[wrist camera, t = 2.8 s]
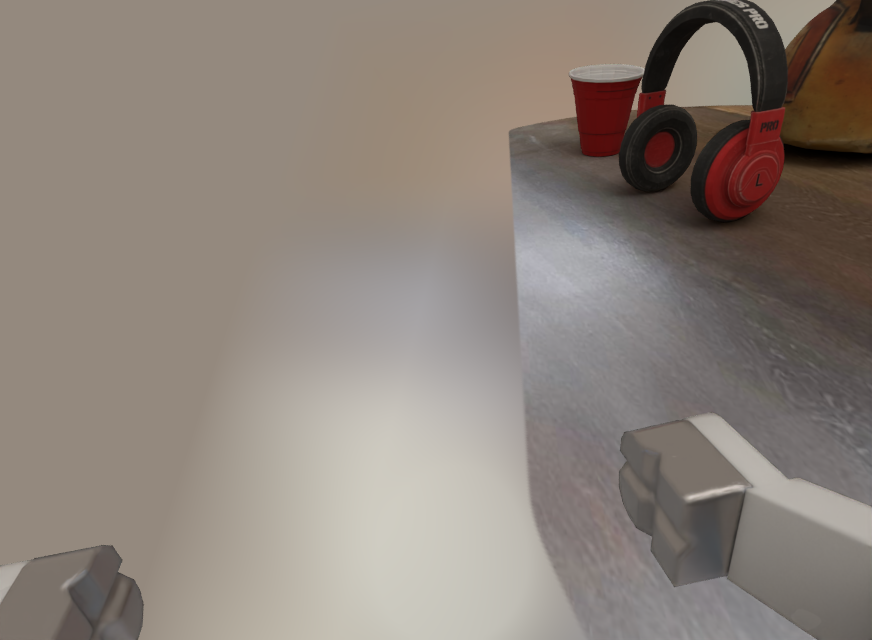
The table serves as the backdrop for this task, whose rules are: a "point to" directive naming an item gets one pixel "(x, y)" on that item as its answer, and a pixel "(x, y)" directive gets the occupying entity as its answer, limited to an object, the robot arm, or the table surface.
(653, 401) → the table surface
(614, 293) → the table surface
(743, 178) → the headphones
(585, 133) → the plastic cup
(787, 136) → the ceramic pitcher
